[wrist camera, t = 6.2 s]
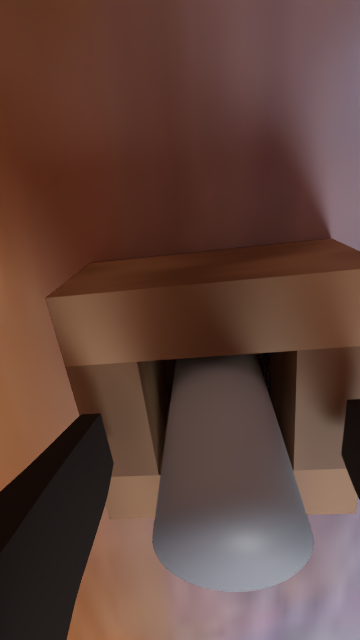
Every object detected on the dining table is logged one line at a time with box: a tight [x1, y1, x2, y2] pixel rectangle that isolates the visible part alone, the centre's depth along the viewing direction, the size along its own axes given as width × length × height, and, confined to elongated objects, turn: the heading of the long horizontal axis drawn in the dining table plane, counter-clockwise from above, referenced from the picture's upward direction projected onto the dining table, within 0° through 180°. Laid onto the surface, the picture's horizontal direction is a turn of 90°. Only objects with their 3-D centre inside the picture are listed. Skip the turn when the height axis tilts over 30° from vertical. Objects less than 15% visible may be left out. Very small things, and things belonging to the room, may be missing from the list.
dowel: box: [152, 353, 314, 592], centre depth 10 cm, size 3×3×8 cm
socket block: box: [45, 238, 360, 519], centre depth 12 cm, size 9×9×4 cm
